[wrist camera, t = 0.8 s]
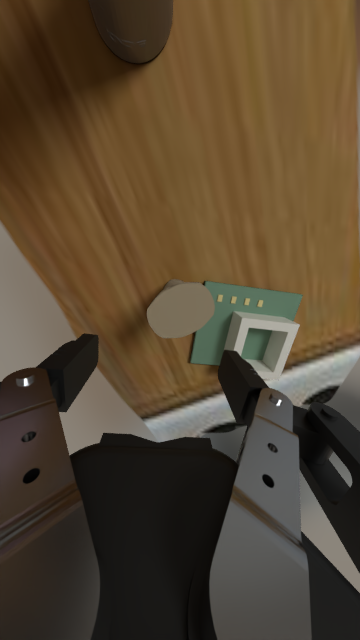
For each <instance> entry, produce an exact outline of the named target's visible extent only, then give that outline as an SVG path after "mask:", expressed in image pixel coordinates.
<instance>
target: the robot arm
mask: <svg viewBox="0 0 360 640" xmlns="http://www.w3.org/2000/svg"><path fill="white" fill-rule="evenodd" d="M88 1H89V4H90V8H91V11H92V14H93V17H94V21H95V24H96V26H97V29H98V31H99V33H100V35H101V37H102V39H103V40H104V42H105V43H106V45H107V46H108V47H109V48H110V49H111V51H112V52H113V53H114V54H116V55H117V56H118V57H120V58H121V59H123V60H125V61H128V62H130V63H144V62H147V61H149V60H151V59H153V58H154V57H155V56H156V55H157V54H159V53H160V51H161V50H162V48H163V47H164V45H165V44H166V41H167V39H168V36H169V33H170V29H171V25H172V15H173V0H88ZM97 363H98V335H93V334H82V335H81V336H80V337H79V338H78V339H77V340H76V341H70V342H68V343H65V344H64V345H62V346H61V347H60V348H59V349H58V350H56V351H55V352H54V353H53V354H51V355H50V356H49V357H48V358H47V359H45V360H44V361H43V362H42V363H40V364H39V365H38V366H37V367H36V368H26V369H22V370H19V371H16V372H13V373H12V374H10V375H8V376H7V377H6V378H4V379H3V381H2V382H0V640H360V593H359V592H358V591H357V590H356V589H355V588H354V587H353V586H352V585H351V584H350V582H349V581H348V580H347V579H346V578H345V577H344V576H343V575H342V574H341V573H340V572H339V571H338V570H337V569H336V567H335V566H334V565H333V564H332V563H331V562H330V561H329V560H328V559H327V558H326V557H325V556H324V555H323V554H322V553H321V552H320V550H319V549H318V548H317V547H316V546H315V545H314V544H313V543H312V542H311V541H310V540H309V539H308V538H307V537H306V536H305V534H304V533H303V532H302V531H301V519H300V518H301V516H300V474H299V469H300V471H301V473H302V474H303V476H304V478H305V480H306V481H307V483H308V485H309V486H310V488H311V490H312V492H313V493H314V495H315V497H316V499H317V500H318V502H319V504H320V505H321V507H322V509H323V511H324V512H325V514H326V516H327V518H328V519H329V521H330V523H331V525H332V526H333V528H334V530H335V531H336V533H337V535H338V537H339V538H340V540H341V542H342V544H343V545H344V547H345V549H346V550H347V552H348V554H349V556H350V557H351V559H352V561H353V563H354V564H355V566H356V568H357V569H358V571H359V573H360V432H359V431H358V430H357V429H356V428H355V427H354V426H353V425H352V424H351V423H350V422H349V421H348V420H347V419H346V418H345V417H344V416H342V415H341V414H340V413H339V412H337V411H336V410H334V409H333V408H331V407H329V406H326V405H324V404H321V403H317V402H314V403H312V404H311V405H310V407H309V409H308V410H307V409H303V408H300V407H297V406H294V405H293V404H292V402H291V400H290V399H289V398H288V397H287V396H286V395H284V394H283V393H281V392H279V391H277V390H275V389H271V388H269V387H268V386H267V384H266V383H265V382H264V381H263V379H262V378H261V377H260V376H259V375H258V373H257V372H256V370H255V369H254V368H253V367H252V365H251V364H250V363H248V362H247V361H246V360H244V359H242V357H241V356H240V355H239V353H238V352H237V351H233V350H224V352H223V354H222V358H221V362H220V365H219V369H218V379H219V381H220V384H221V386H222V389H223V391H224V393H225V396H226V398H227V401H228V403H229V405H230V408H231V410H232V412H233V415H234V417H235V420H236V422H237V424H246V425H247V429H246V431H245V434H244V438H243V441H242V444H241V447H240V450H239V453H238V456H237V459H236V462H235V461H234V460H233V459H231V458H230V457H229V456H227V455H226V454H224V453H222V452H220V451H218V450H216V449H213V448H212V445H211V440H210V438H194V437H183V438H179V439H174V440H170V441H165V442H160V443H157V442H153V441H150V440H147V439H144V438H141V437H138V436H134V435H132V434H114V433H103V435H102V438H101V441H100V443H98V444H93V445H90V446H88V447H85V448H83V449H80V450H78V451H77V452H75V453H73V454H71V455H70V456H69V452H68V448H67V444H66V440H65V436H64V432H63V428H62V424H61V420H60V416H59V412H67V410H68V409H69V407H70V406H71V404H72V402H73V401H74V400H75V398H76V396H77V395H78V394H79V392H80V391H81V389H82V387H83V386H84V384H85V383H86V381H87V380H88V378H89V377H90V375H91V374H92V372H93V371H94V369H95V368H96V366H97ZM333 451H334V452H335V453H336V455H337V456H338V457H339V458H340V459H341V461H342V462H343V463H344V464H345V466H346V467H347V468H348V470H349V471H350V473H351V476H352V482H353V483H352V486H351V487H349V486H348V485H347V483H346V482H345V481H344V479H343V478H342V477H341V475H340V474H339V473H338V471H337V470H336V469H335V467H334V466H333V465H332V463H331V462H330V461H329V458H330V456H331V454H332V453H333Z"/></svg>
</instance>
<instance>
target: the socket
mask: <svg viewBox="0 0 360 640" xmlns="http://www.w3.org/2000/svg"><path fill="white" fill-rule="evenodd" d="M249 328H257V329H266V330H272V333H271V336H270V339H269V342H268V345H267V348H266V351H265V354H264V357H263V360H262V361H261V360H250V359H244V360H246V361H247V362H248V363H250V364H251V365H252V367H253V368H254V369H255V370H256V372H257V373H258V375H259V376H260V377H261V378H262V379H272V380H279V378H280V376H281V373H282V370H283V368H284V365H285V362H286V360H287V357H288V354H289V352H290V349H291V347H292V344H293V341H294V339H295V336H296V333H297V331H298V328H299V324H297V323H295V322H293V321H291V320H289V319H287V318H285V317H278V316H270V315H262V314H254V313H246V312H238V311H233V315H232V319H231V323H230V327H229V331H228V335H227V339H226V343H225V347H224V350H233V351H237V352H238V353H239V355H240V356H241V354H242V350H243V347H244V343H245V339H246V336H247V332H248V329H249Z"/></svg>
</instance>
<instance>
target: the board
mask: <svg viewBox="0 0 360 640" xmlns="http://www.w3.org/2000/svg"><path fill="white" fill-rule="evenodd" d="M204 286H205V287H206V288H207V289H208V290H209V292H210V293H211V295H212V297H213V300H214V305H215V310H214V315H213V316H212V317H211V318H210V319H209V321H208V322H207V323H206V324H205V325H204V326H203V327H202V328H201V329H199V330H197V331H195V337H194V342H193V348H192V353H191V359H190V361H191V363H196V364H208V365H220V362H221V358H222V354H223V352H224V347H225V343H226V339H227V335H228V331H229V327H230V323H231V319H232V315H233V311H238V312H246V313H254V314H262V315H270V316H278V317H285V318H287V319H289V320H291V321H293V320H294V318H295V315H296V312H297V310H298V307H299V304H300V301H301V299H302V296H303V295H301V294H295V293H288V292H281V291H274V290H267V289H260V288H253V287H245V286H238V285H231V284H224V283H217V282H210V281H205V282H204ZM271 333H272V330H266V329H257V328H249V329H248V332H247V336H246V339H245V343H244V347H243V350H242V354H241V357H242V359H250V360H261V361H262V360H263V357H264V354H265V351H266V348H267V345H268V342H269V339H270V336H271Z"/></svg>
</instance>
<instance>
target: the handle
mask: <svg viewBox="0 0 360 640" xmlns="http://www.w3.org/2000/svg"><path fill="white" fill-rule="evenodd" d="M214 310H215V305H214V300H213V297H212V295H211V293H210V292H209V290H208V289H207V288H206V287H205V286H204V285H202V284H200V283H199V282H183V281H181V280H178V279H174V280H170V281H169V282H168V283H167V284H166V285H165V287H164V289H163V291H161V292H160V293H159V294H158V295H157V296H156V297H155V299H154V300H153V301H152V303H151V304H150V305H149V307H148V309H147V319H148V322H149V324H150V326H151V328H152V329H153V331H154V332H155V333H156V334H157V335H159V336H160V337H162V338H179V337H184V336H187V335H189V334H191V333H193V332H195V331H197V330H199V329H201V328H202V327H203V326H204V325H205V324H206V323H207V322H208V321H209V319H210V318H211V317H212V316H213V315H214Z"/></svg>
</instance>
